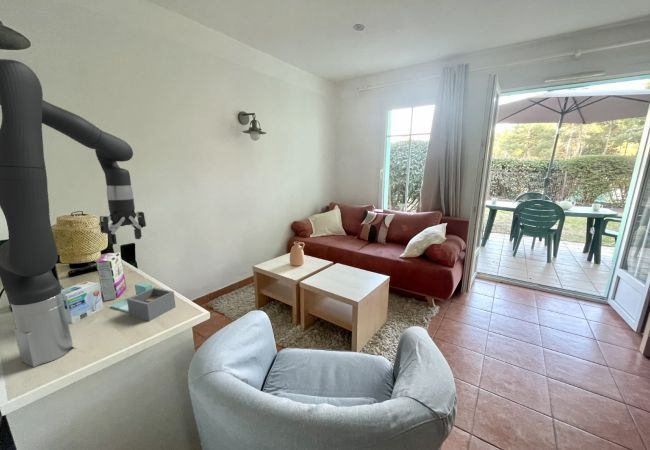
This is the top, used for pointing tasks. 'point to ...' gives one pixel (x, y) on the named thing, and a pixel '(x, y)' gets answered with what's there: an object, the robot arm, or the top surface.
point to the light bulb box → (82, 300)
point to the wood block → (151, 298)
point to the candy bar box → (111, 276)
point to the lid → (139, 289)
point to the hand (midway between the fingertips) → (126, 241)
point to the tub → (151, 304)
